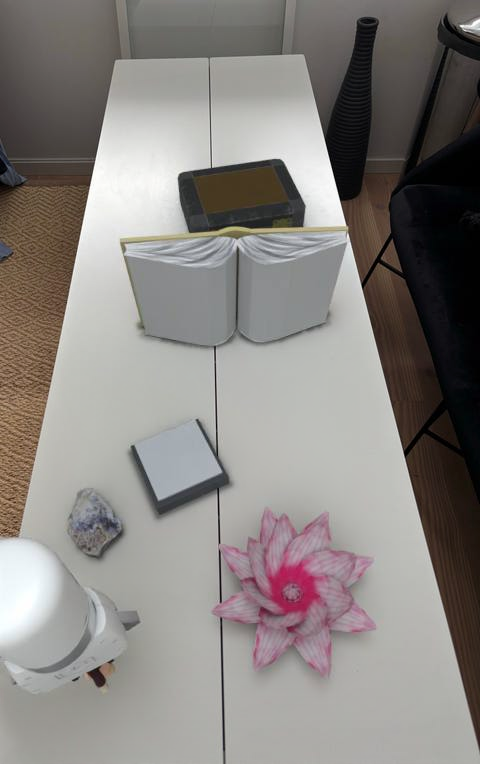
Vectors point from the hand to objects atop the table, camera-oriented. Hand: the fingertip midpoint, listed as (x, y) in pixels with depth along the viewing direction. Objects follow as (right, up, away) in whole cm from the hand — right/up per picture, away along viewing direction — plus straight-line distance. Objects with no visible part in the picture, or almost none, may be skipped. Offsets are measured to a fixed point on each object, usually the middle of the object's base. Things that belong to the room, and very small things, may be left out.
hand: (90, 657), depth 62 cm
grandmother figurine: (0, -5, +6) cm, 8 cm away
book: (+16, +41, +45) cm, 63 cm away
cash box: (+17, +69, +65) cm, 96 cm away
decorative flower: (+24, 0, +16) cm, 29 cm away
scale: (+7, +17, +28) cm, 33 cm away
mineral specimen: (-5, +9, +23) cm, 25 cm away
